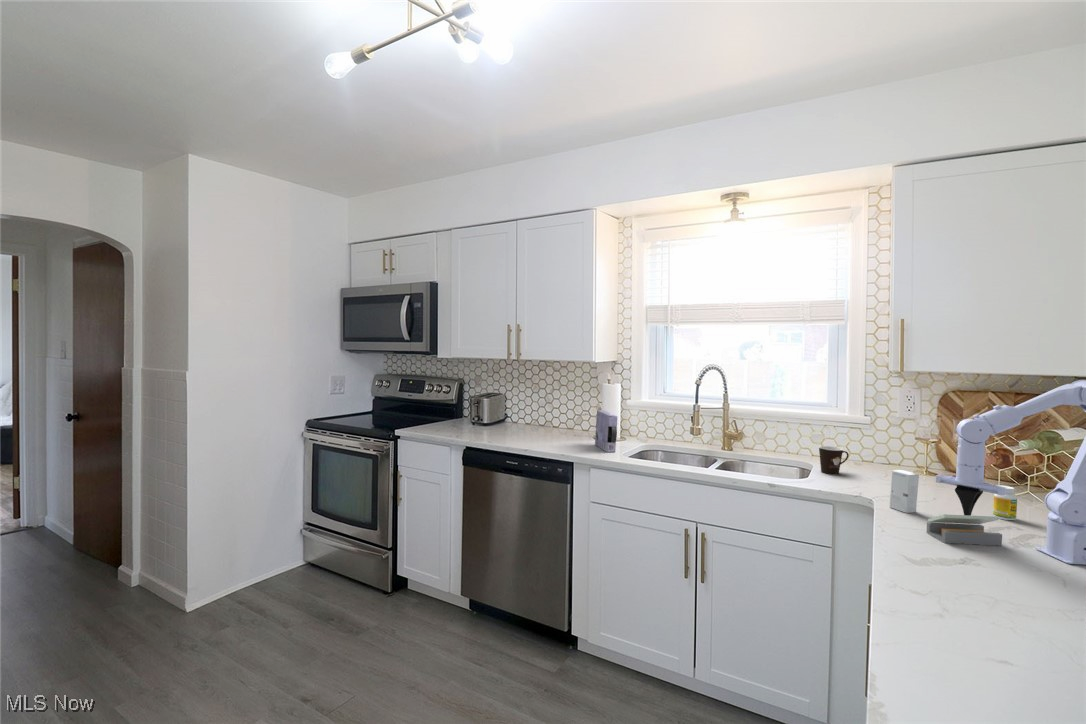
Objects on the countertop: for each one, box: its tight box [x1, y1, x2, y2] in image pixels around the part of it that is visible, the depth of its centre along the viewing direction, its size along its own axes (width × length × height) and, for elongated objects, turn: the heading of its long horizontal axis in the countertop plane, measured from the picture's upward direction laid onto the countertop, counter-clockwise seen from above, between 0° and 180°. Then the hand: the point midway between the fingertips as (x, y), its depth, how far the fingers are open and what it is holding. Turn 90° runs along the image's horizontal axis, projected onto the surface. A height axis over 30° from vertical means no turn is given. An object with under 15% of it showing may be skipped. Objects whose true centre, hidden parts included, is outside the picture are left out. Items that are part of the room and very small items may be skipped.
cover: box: [927, 513, 999, 525], centre depth 142 cm, size 7×13×1 cm, turn 85°
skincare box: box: [889, 469, 920, 514], centre depth 166 cm, size 6×4×12 cm
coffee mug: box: [818, 445, 849, 475], centre depth 214 cm, size 12×9×10 cm
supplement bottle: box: [992, 484, 1018, 521], centre depth 160 cm, size 5×5×10 cm
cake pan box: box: [594, 409, 618, 453], centre depth 253 cm, size 19×5×18 cm, turn 12°
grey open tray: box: [926, 522, 1003, 547], centre depth 141 cm, size 8×14×3 cm, turn 85°
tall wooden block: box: [941, 529, 983, 534], centre depth 141 cm, size 2×10×2 cm, turn 85°
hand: (967, 515), depth 140 cm, fingers closed, pressing on cover
